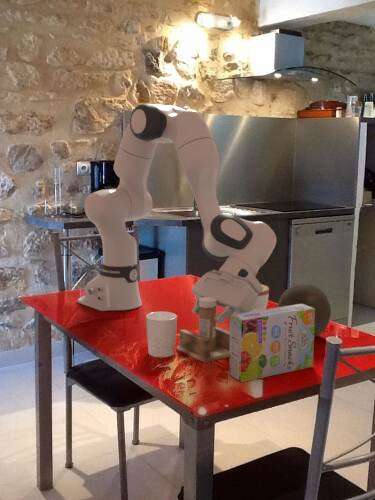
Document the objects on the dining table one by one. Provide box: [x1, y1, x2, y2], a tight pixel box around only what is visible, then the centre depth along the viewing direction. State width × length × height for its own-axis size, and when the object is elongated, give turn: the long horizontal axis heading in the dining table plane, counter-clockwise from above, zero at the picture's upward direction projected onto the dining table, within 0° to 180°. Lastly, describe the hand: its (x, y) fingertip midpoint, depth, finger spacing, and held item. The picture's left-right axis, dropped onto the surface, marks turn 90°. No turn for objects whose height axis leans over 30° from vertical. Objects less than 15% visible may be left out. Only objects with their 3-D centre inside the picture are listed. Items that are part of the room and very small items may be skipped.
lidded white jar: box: [234, 283, 270, 314], centre depth 183 cm, size 13×13×11 cm
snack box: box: [228, 304, 315, 383], centre depth 137 cm, size 21×6×15 cm, turn 118°
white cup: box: [145, 311, 178, 358], centre depth 149 cm, size 8×8×10 cm
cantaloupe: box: [277, 284, 332, 338], centre depth 162 cm, size 14×14×15 cm
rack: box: [176, 326, 230, 363], centre depth 151 cm, size 12×11×5 cm
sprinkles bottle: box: [198, 297, 218, 351], centre depth 150 cm, size 5×5×14 cm
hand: (205, 317), depth 149 cm, fingers open, 8 cm apart
